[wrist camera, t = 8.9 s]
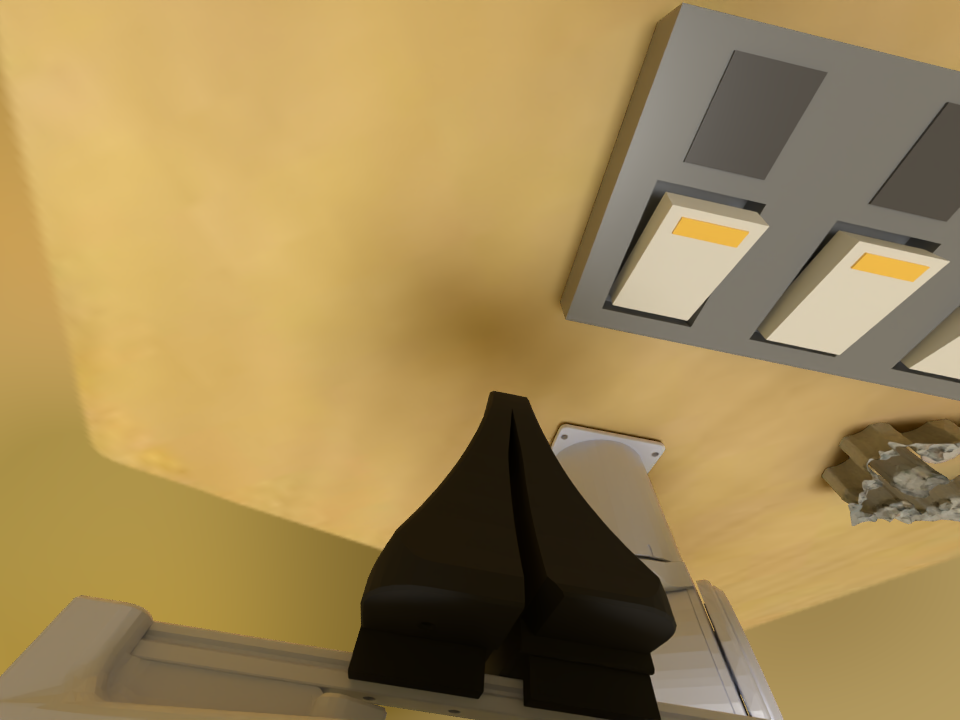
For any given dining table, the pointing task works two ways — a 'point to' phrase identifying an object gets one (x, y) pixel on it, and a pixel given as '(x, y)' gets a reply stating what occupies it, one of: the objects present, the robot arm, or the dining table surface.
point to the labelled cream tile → (684, 255)
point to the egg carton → (898, 473)
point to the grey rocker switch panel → (782, 182)
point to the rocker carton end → (938, 349)
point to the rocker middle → (847, 292)
